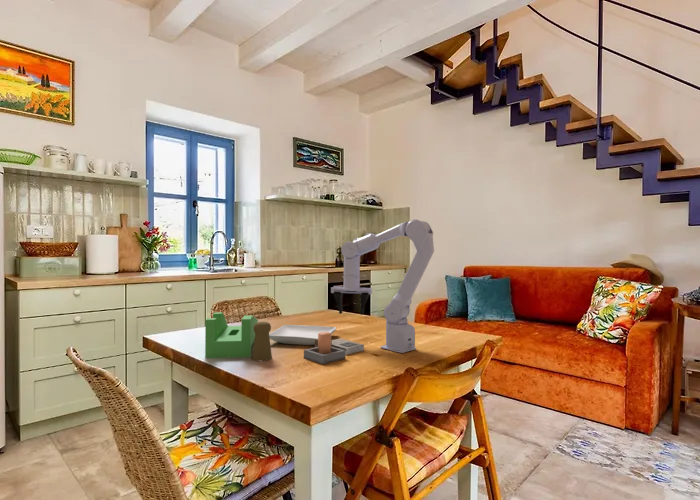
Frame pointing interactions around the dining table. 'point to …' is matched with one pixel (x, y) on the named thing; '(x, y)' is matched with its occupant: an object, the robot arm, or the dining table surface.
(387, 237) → the robot arm
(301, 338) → the salad plate
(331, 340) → the block
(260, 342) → the brown pawn
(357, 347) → the grey flat frame
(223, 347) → the ramp block with notch
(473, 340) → the dining table surface
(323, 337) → the dowel
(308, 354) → the tray
